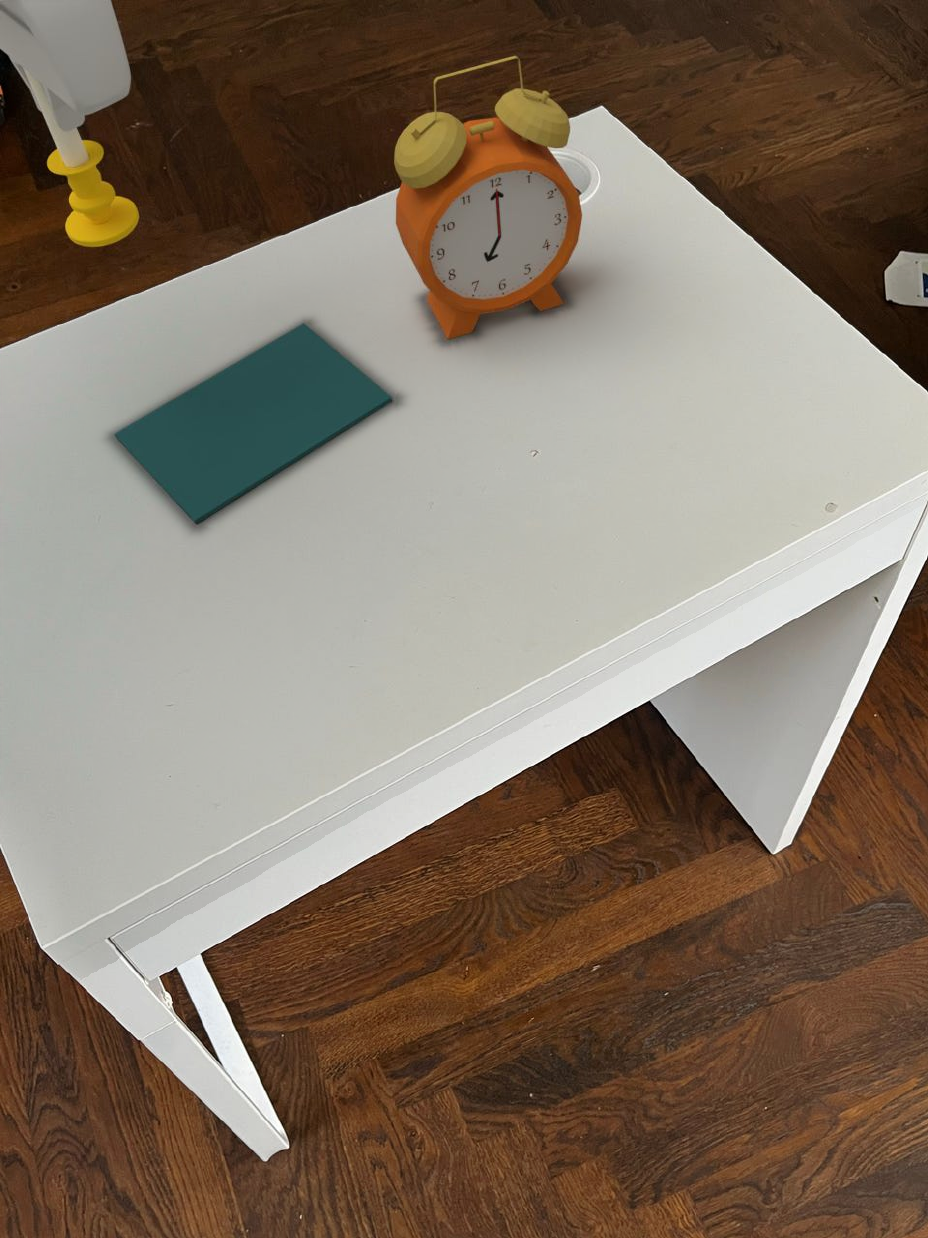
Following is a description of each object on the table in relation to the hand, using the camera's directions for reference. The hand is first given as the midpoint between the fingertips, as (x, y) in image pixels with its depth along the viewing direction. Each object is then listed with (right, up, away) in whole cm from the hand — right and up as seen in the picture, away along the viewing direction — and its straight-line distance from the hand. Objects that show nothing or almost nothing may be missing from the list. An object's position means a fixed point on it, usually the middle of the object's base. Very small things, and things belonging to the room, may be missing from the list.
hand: (63, 118), depth 76 cm
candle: (+1, -5, +6) cm, 8 cm away
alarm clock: (+29, -7, +18) cm, 35 cm away
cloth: (+10, -18, +13) cm, 24 cm away
